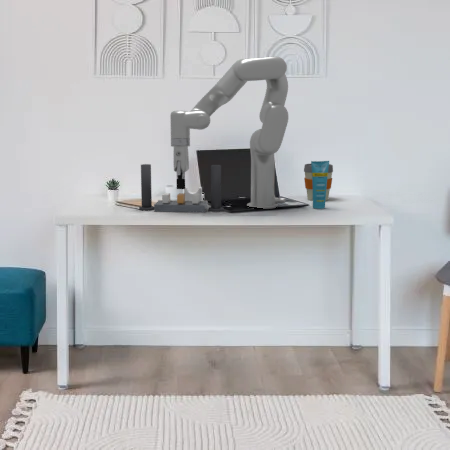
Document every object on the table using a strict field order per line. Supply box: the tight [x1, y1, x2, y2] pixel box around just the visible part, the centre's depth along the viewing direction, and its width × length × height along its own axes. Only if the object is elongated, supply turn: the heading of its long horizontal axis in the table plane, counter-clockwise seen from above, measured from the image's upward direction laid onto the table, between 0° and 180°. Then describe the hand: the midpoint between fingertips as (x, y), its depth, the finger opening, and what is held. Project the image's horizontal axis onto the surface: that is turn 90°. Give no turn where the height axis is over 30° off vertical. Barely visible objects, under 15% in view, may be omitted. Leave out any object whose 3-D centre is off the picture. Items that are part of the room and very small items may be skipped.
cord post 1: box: [138, 163, 154, 212], centre depth 308 cm, size 6×6×18 cm
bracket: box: [183, 186, 205, 201], centre depth 326 cm, size 13×7×8 cm, turn 176°
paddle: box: [192, 194, 200, 204], centre depth 307 cm, size 2×5×3 cm, turn 175°
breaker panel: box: [153, 199, 209, 213], centre depth 308 cm, size 20×10×3 cm, turn 85°
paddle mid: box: [176, 192, 185, 203], centre depth 307 cm, size 2×5×3 cm, turn 175°
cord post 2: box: [208, 164, 225, 213], centre depth 305 cm, size 6×6×18 cm
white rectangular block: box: [161, 192, 171, 203], centre depth 308 cm, size 2×5×3 cm, turn 174°
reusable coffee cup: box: [303, 163, 334, 202], centre depth 333 cm, size 13×13×15 cm
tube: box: [310, 160, 330, 210], centre depth 310 cm, size 7×5×19 cm, turn 104°
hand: (180, 188), depth 306 cm, fingers closed
